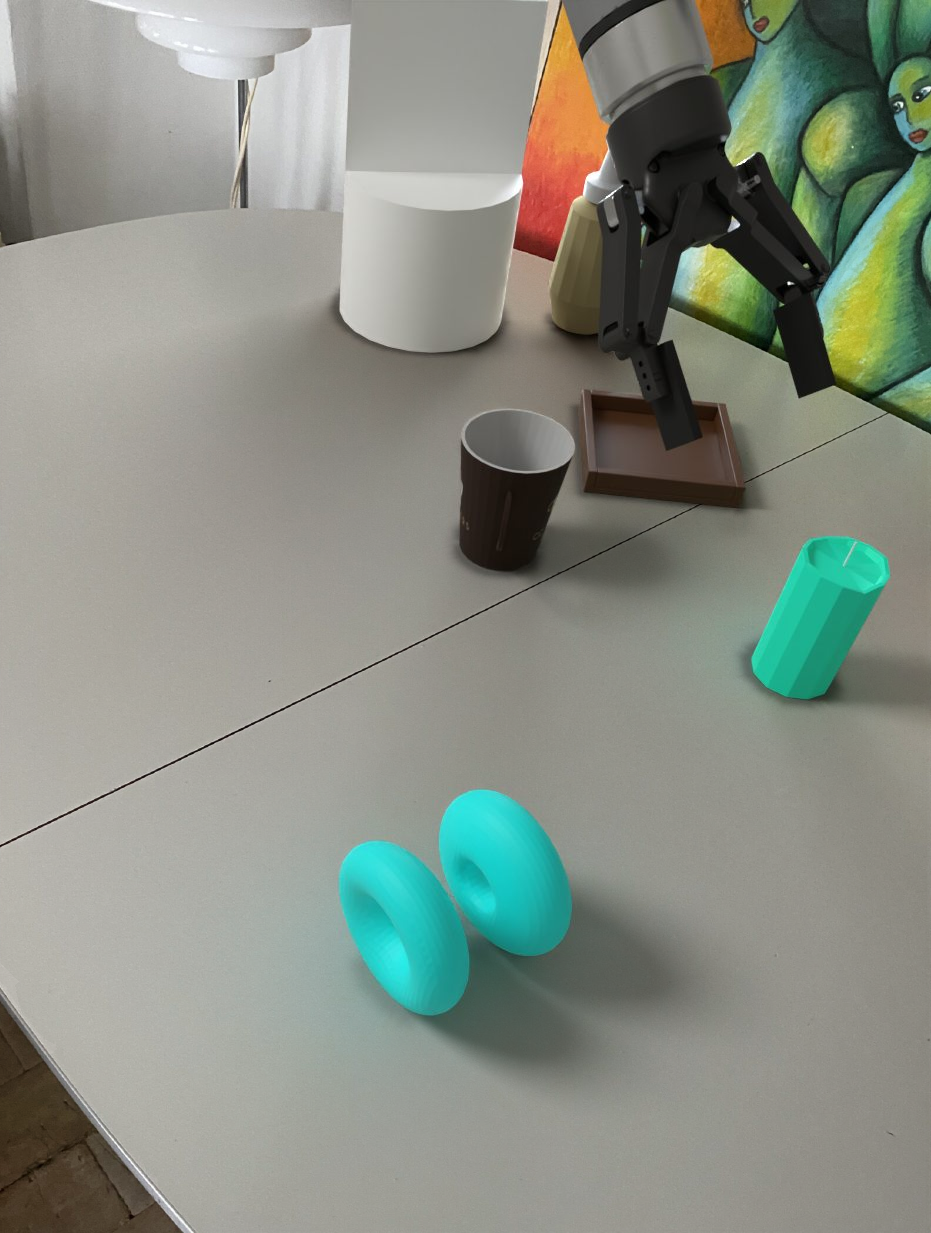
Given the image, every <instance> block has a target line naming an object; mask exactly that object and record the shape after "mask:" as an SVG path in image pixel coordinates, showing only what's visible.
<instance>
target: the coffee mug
mask: <svg viewBox="0 0 931 1233" xmlns="http://www.w3.org/2000/svg"><path fill="white" fill-rule="evenodd" d="M575 450H576V445H575V440H574V437H573V435H572V434H571V432H570V431H569V430H568V429H567V428H566V427H565V426H564V425H563V424H561V423H560V422H558V421H557V420H555V419H553V418H552V417H549V416H547V415H545V414H542V413H539V412H537V411H533V410H528V409H522V408H514V407H512V408H511V407H509V408H508V407H507V408H505V407H504V408H493V409H489V410H485V411H481V412H479V413H477V414H474V415H473V416H471V417H470V418H469V419H467V421H465V423H464V424H463V426H462V428H461V431H460V479H459V480H460V481H459V483H460V484H459V541H458V542H459V543H458V544H459V548H460V551H461V552H462V554H463V555H464V556H465V557H466V559H467V560H468V561H470V562H472V563H473V564H475V565H477V566H479V567H482V568H485V569H487V570H493V571H498V572H499V571H500V572H502V571H504V572H507V571H515V570H519V569H521V568H524V567H526V566H528V565H529V564H530V563H532V562H533V560H534V559H535V557H536V555H537V553H538V551H539V550H538V549H539V548H540V544H541V541H542V540H543V536H544V533H545V531H546V528H547V526H548V523H549V520H550V518H551V515H552V512H553V510H554V507H555V505H556V502H557V499H558V496H559V493H560V492H561V489H562V486H563V483H564V481H565V478H566V475H567V473H568V470H569V468H570V464H571V462H572V460H573V457H574V454H575Z"/></svg>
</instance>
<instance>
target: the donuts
mask: <svg viewBox="0 0 931 1233" xmlns="http://www.w3.org/2000/svg"><path fill="white" fill-rule="evenodd" d="M438 850H439V852H438V853H439V858H440V862H441V867H442V871H443V874H444V877H445V880H446V883H447V886H448V888H449V890H450V892H451V895H452V896H453V898H454V899H455V902H456V903H457V905H458V907H459V908H460V910H461V912H462V913H463V914H464V915H465V916H466V919H468V921H469V922H470V924H472V926H473V927H474V928H475V929H476V930H477V931H478V932H479V933H480V934H481V935H482V936H483V937H484V938H486V939H487V940H488V941H489V942H490V943H492V944H493V945H495V946H496V947H498V948H499V949H501V950H504V951H506V952H508V953H510V954H513V955H517V956H522V957H535V956H540V955H543V954H544V955H545V954H546V953H548V952H550V951H552V950H554V949H555V948H556V947H557V946H558V945H559V944H560V943H561V942H562V941H563V940H564V938H565V936H566V934H567V932H568V930H569V928H570V925H571V919H572V912H573V901H572V900H573V899H572V898H573V897H572V890H571V886H570V881H569V878H568V875H567V872H566V869H565V867H564V863H563V861H562V859H561V857H560V855H559V852H558V850H557V848H556V846H555V845H554V842H552V839H551V838H550V837H549V835H548V833H547V832H546V830H545V829H544V828H543V827H542V825H541V824H540V823H539V822H538V820H537V819H536V818H535V817H534V816H533V814H531V812H529V811H528V810H527V809H526V808H525V807H524V806H523V805H522V804H520V803H519V802H517V801H516V800H515V799H513V798H512V797H510V796H508V795H506V794H504V793H501V792H499V791H496V790H494V789H493V790H491V789H485V788H484V789H481V788H478V789H473V790H469V791H466V792H464V793H462V794H460V795H458V796H457V797H456V798H454V799H453V800H452V802H451V803H450V804H449V805H448V807H447V808H446V810H445V812H444V814H443V816H442V819H441V822H440V826H439V834H438ZM338 893H339V900H340V905H341V909H342V913H343V916H344V919H345V922H346V925H347V928H348V931H349V933H350V935H351V938H352V940H353V942H354V945H355V946H356V949H357V950H358V952H359V954H360V956H361V958H362V960H363V961H364V963H365V964H366V966H367V968H368V969H369V971H370V972H371V974H372V975H373V976H374V978H375V980H376V981H377V982H378V984H379V985H380V986H381V987H382V988H383V989H384V991H386V992H387V994H388V995H389V996H390V997H391V998H392V999H393V1000H394V1001H396V1003H398V1004H399V1005H400V1006H402V1007H403V1008H404V1009H406V1010H409V1011H410V1012H412V1013H415V1014H418V1015H422V1016H438V1015H441V1014H444V1013H446V1012H448V1011H449V1010H450V1011H451V1009H452V1008H454V1007H455V1006H456V1005H457V1004H458V1003H459V1001H460V1000H461V998H462V997H463V995H464V993H465V991H466V988H467V985H468V982H469V977H470V976H469V975H470V953H469V947H468V942H467V941H468V940H467V937H466V934H465V930H464V927H463V923H462V921H461V918H460V916H459V914H458V912H457V909H456V907H455V905H454V903H453V901H452V899H451V897H450V896H449V894H448V893H447V891H446V889H445V887H444V886H443V884H442V883H441V882H440V880H439V879H438V878H437V876H436V875H435V874H434V873H433V872H432V870H431V869H430V868H429V867H428V866H427V865H426V864H425V863H424V862H423V861H422V860H421V859H419V858H418V857H417V856H416V855H415V854H414V853H413V852H411V851H409V850H408V849H406V848H404V847H402V846H401V845H399V844H396V843H393V842H390V841H386V840H370V841H365V842H362V843H360V844H358V845H356V846H354V847H353V848H352V849H351V850H350V851H349V852H348V853H347V855H346V856H345V858H344V859H343V861H342V864H341V867H340V870H339V875H338Z"/></svg>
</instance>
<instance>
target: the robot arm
mask: <svg viewBox="0 0 931 1233" xmlns="http://www.w3.org/2000/svg"><path fill="white" fill-rule="evenodd" d="M561 2H562V5H563V9H564V11H565V15H566V18H567V20H568V23H569V26H570V30H571V32H572V35H573V38H574V42H575V44H576V47H577V51H578V53H579V56H580V60H581V63H582V66H583V69H584V72H585V75H586V78H587V82H588V85H589V88H590V91H591V95H592V99H593V101H594V104H595V108H596V111H597V114H598V117H599V120H600V122H601V123H602V124H605V125H607V126H609V127H608V129H607V132H606V135H605V142H606V145H607V148H608V150H609V152H610V155H611V158H612V161H613V164H614V168H615V171H616V174H617V177H618V180H619V182H620V184H621V185H622V186H621V187H620V188H619V189H617V190H616V191H615V192H613V193H612V194H610V195H609V196H608V197H606V198H605V199H604V200H602V201H601V202H600V203H598V205H597V208H596V210H597V216H598V220H599V225H600V229H601V233H602V238H603V241H602V265H601V289H600V312H599V333H598V337H597V338H598V340H597V345H598V348H599V350H600V351H601V352H602V353H603V354H606V355H607V354H611V353H612V352H613V354H614V357H615V358H616V359H617V360H618V361H626V360H628V359H630V361H631V364H632V367H633V370H634V374H635V376H636V380H637V382H638V386H639V388H640V392H641V395H642V396H643V398H644V399H645V400H646V402H647V403H649V402H651V405H652V408H653V411H654V414H655V417H656V420H657V424H658V427H659V430H660V433H661V436H662V439H663V442H664V446H665V449H666V451H668V450H671V449H674V448H676V447H679V446H682V445H684V444H687V443H690V442H692V441H695V440H698V439H700V438H703V435H702V432H701V429H700V426H699V422H698V419H697V416H696V413H695V410H694V406H693V403H692V400H693V399H692V397H691V394H690V391H689V387H688V384H687V381H686V378H685V374H684V371H683V368H682V364H681V361H680V358H679V356H678V352H677V348H676V346H675V343H674V339H670V340H666V341H664V342H662V343H660V341H661V337H662V334H663V330H664V326H665V322H666V317H667V315H668V311H669V310H668V309H669V306H670V301H671V297H672V294H673V290H674V285H675V281H676V277H677V273H678V269H679V266H680V260H681V257H682V254H683V253H684V252H686V251H688V250H689V249H691V248H695V249H699V248H703V247H706V246H708V245H710V246H711V247H713V248H714V249H718V250H719V249H721V250H724V251H725V252H726V253H728V255H730V256H731V258H732V259H734V260H735V261H736V262H737V263H738V264H739V265H740V266H741V267H742V268H743V269H745V271H746V272H748V274H750V275H751V276H752V277H753V278H754V279H755V280H756V281H757V283H759V284H760V285H761V286H763V287H764V288H765V289H766V290H767V291H768V293H770V294H771V295H772V296H773V297H774V298H775V299H776V300H777V301H778V302H780V304H782V305H780V306H778V307H776V308H774V309H772V313H773V316H774V319H775V323H776V327H777V330H778V333H779V336H780V340H781V344H782V347H783V350H784V353H785V357H786V361H787V363H788V367H789V371H790V374H791V377H792V381H793V384H794V388H795V391H796V395H797V398H798V399H802V398H805V397H807V396H810V395H812V394H815V393H818V392H820V391H824V390H826V389H829V388H832V387H834V386H836V385H837V381H836V377H835V374H834V371H833V366H832V364H831V360H830V357H829V354H828V350H827V346H826V342H825V340H824V338H825V329H824V326H823V322H822V319H821V317H820V311H819V308H818V306H817V301H816V298H815V291H816V290H818V289H820V288H823V287H824V286H825V285H826V283H827V277H829V276H830V274H831V270H832V268H831V264H830V263H829V261H828V260H827V258H826V256H825V255H824V254H823V252H822V251H821V249H820V248H819V246H818V245H817V243H816V242H815V240H814V239H813V237H812V236H811V234H810V233H809V231H808V230H807V229H806V227H805V225H804V224H803V222H802V221H801V220H800V218H799V217H798V215H797V214H796V212H795V211H794V209H793V208H792V206H791V205H790V203H789V202H788V200H787V199H786V197H785V196H784V194H783V193H782V191H781V190H780V188H779V187H778V185H777V184H776V183H775V180H774V177H773V174H772V172H771V170H770V167H769V163H768V160H767V158H766V156H765V154H763V153H762V152H760V151H756V152H754V153H753V154H752V155H750V156H748V157H747V158H745V159H744V160H743V161H741V162H740V163H738V164H737V165H733V164H732V162H731V161H730V159H729V157H728V156H727V153H726V145H727V141H728V139H729V137H730V136H731V134H732V130H733V129H732V121H731V118H730V115H729V112H728V108H727V106H726V102H725V101H726V100H725V98H724V95H723V92H722V88H721V85H720V81H719V79H718V78H716V77H714V76H712V75H710V72H711V71H712V69H713V67H714V57H713V54H712V50H711V48H710V44H709V41H708V38H707V35H706V31H705V28H704V25H703V21H702V18H701V15H700V12H699V8H698V5H697V2H696V0H561ZM643 225H644V227H645V231H644V236H643V235H642V234H643V231H642V230H643V228H642V226H643ZM642 236H643V237H642ZM642 238H643V239H642ZM805 265H807V267H806V266H805ZM659 343H660V344H659Z"/></svg>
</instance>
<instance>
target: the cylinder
mask: <svg viewBox="0 0 931 1233" xmlns="http://www.w3.org/2000/svg"><path fill="white" fill-rule="evenodd" d="M350 9H351V11H350V36H349V38H350V39H349V41H350V42H349V60H348V61H349V64H348V66H349V67H348V90H347V110H346V111H347V114H346V135H345V136H346V139H345V159H344V160H345V161H344V162H345V163H344V167H345V168H344V187H343V190H344V191H343V214H342V238H341V263H340V286H339V287H340V289H339V290H340V291H339V313H340V316H341V317H342V319H343V321H344V322H345V323H346V324H347V325H348V327H350V328H351V329H352V330H353V331H354V332H355V333H357V334H359V335H360V336H362V337H364V338H365V339H367V340H369V341H371V342H373V343H376V344H379V345H382V346H385V347H388V348H393V349H398V350H403V351H407V352H417V353H431V354H432V353H447V352H456V351H460V350H465V349H469V348H473V347H475V346H477V345H479V344H481V343H484V342H486V341H488V340H489V339H490V338H492V336H494V335H495V334H496V333H497V332H498V330H499V327H500V325H501V323H502V319H503V313H504V305H505V299H506V294H507V293H506V292H507V286H508V281H509V276H510V275H509V274H510V269H511V268H510V267H511V262H512V255H513V250H514V243H515V237H516V232H517V231H516V230H517V225H518V219H519V212H520V206H521V199H522V193H523V187H524V180H523V174H522V172H523V167H524V160H525V154H526V148H527V141H528V135H529V129H530V123H531V116H532V111H533V110H532V108H533V103H534V97H535V90H536V84H537V78H538V71H539V65H540V58H541V53H542V46H543V40H544V34H545V27H546V19H547V15H548V9H549V0H351V8H350Z"/></svg>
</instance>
